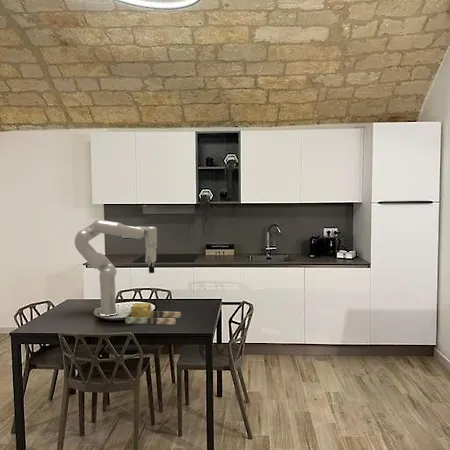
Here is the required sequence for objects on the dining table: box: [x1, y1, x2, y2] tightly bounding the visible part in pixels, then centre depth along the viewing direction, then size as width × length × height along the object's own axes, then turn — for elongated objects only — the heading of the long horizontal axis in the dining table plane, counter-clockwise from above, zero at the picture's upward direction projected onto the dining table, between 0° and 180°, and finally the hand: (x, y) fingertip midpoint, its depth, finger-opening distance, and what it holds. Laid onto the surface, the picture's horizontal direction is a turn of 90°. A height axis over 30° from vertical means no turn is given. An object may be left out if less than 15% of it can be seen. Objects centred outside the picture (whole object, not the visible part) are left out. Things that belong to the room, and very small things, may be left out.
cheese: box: [130, 302, 152, 318], centre depth 302 cm, size 10×11×10 cm
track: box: [125, 310, 182, 326], centre depth 302 cm, size 31×16×4 cm, turn 83°
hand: (151, 272), depth 317 cm, fingers closed
